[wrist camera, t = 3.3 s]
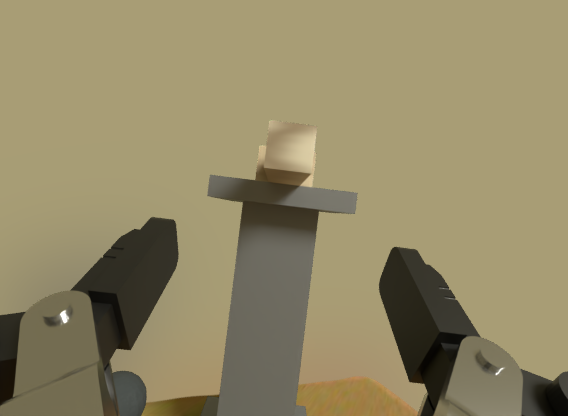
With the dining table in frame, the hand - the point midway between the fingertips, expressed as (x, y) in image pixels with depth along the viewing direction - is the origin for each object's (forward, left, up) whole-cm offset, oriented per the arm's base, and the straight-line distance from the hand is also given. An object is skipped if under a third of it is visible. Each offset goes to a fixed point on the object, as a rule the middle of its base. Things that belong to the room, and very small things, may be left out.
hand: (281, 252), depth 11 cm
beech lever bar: (0, +17, +4) cm, 17 cm away
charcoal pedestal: (0, +23, -28) cm, 36 cm away
